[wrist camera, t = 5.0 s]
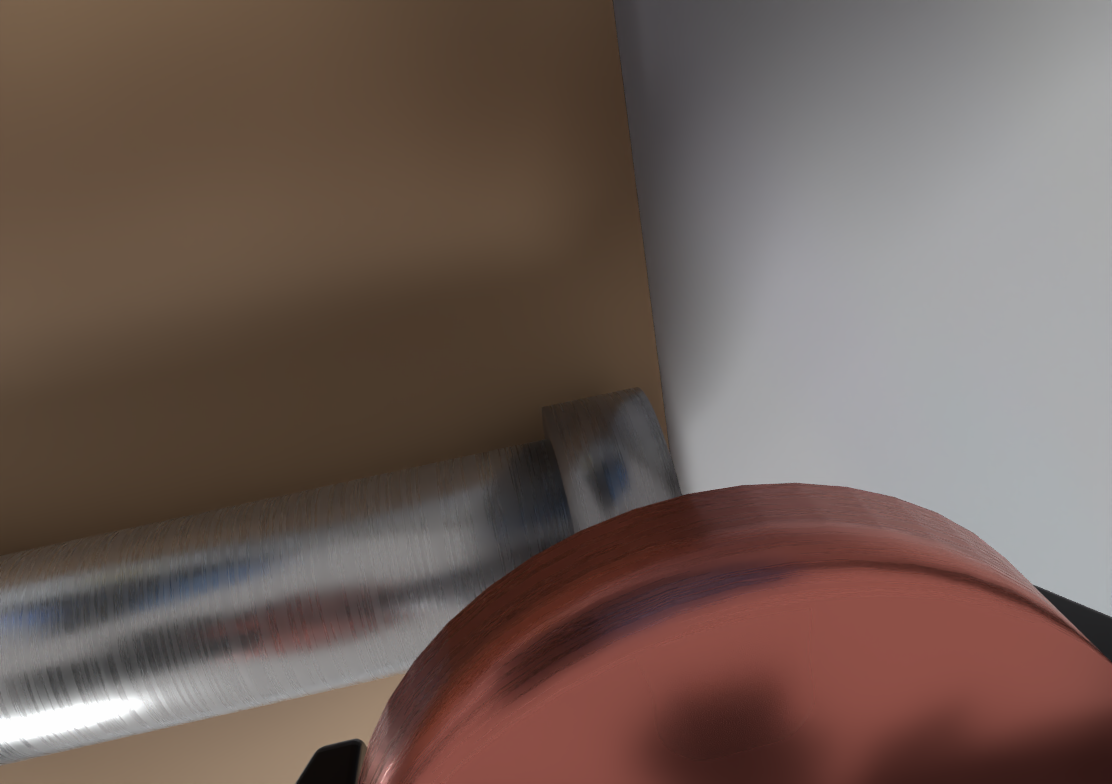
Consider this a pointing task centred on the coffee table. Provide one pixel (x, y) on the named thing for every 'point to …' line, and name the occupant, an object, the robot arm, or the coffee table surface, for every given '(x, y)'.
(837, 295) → the coffee table surface
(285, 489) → the walnut board
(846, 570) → the silver and red piece
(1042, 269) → the coffee table surface
